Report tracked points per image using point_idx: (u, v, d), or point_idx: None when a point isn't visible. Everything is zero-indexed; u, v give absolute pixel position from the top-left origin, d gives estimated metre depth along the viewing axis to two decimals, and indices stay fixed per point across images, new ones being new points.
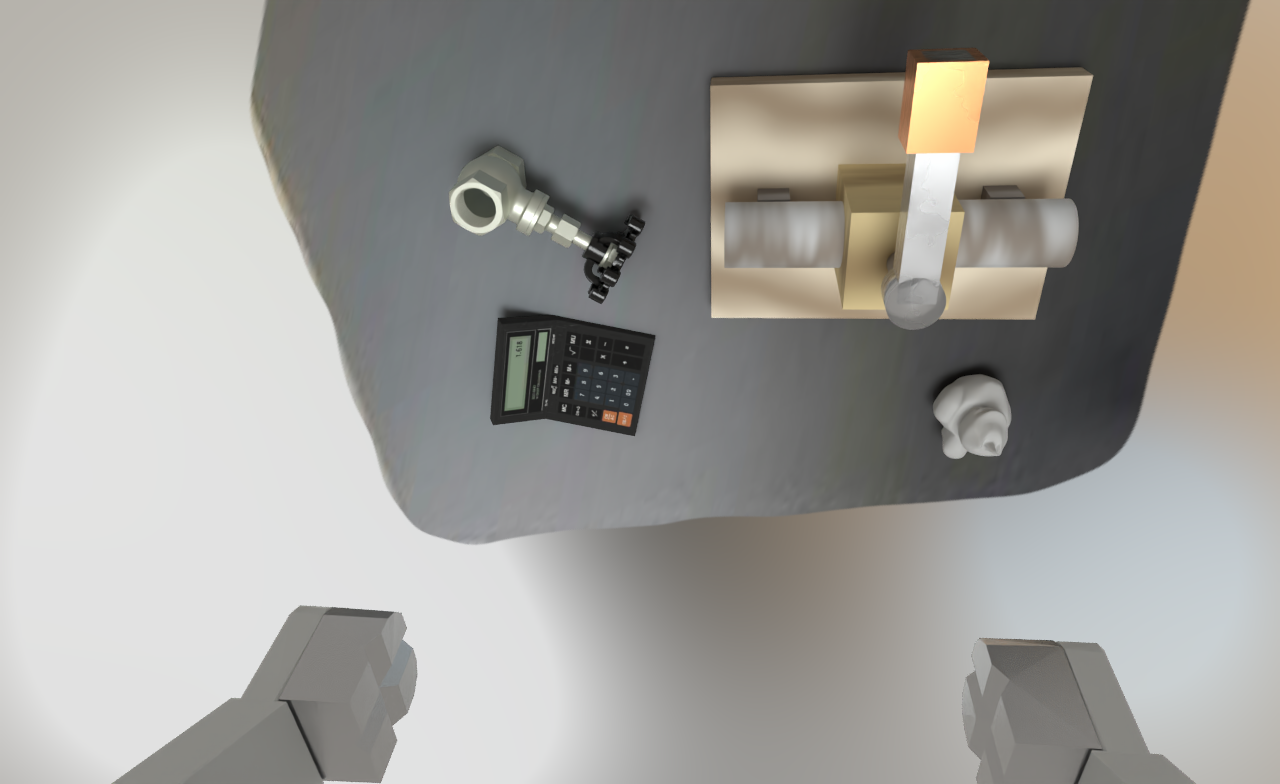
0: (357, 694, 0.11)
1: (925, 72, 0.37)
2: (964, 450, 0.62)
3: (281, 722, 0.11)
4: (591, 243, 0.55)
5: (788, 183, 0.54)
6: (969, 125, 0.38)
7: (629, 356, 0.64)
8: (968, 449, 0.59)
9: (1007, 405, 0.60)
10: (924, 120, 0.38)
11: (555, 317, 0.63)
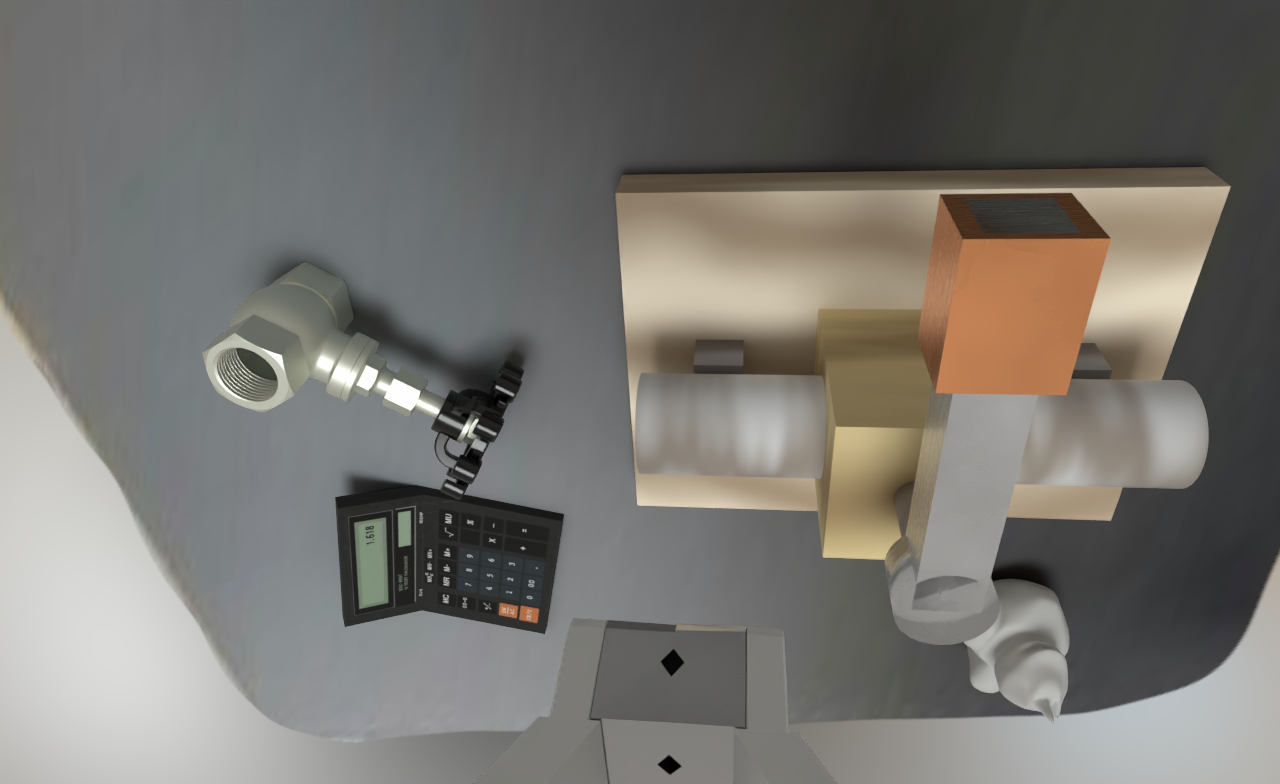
0: (667, 713, 0.10)
1: (977, 256, 0.18)
2: None
3: (594, 742, 0.10)
4: (441, 413, 0.37)
5: (742, 333, 0.35)
6: (1061, 350, 0.19)
7: (528, 541, 0.45)
8: None
9: (1065, 630, 0.41)
10: (972, 339, 0.19)
11: (421, 490, 0.45)
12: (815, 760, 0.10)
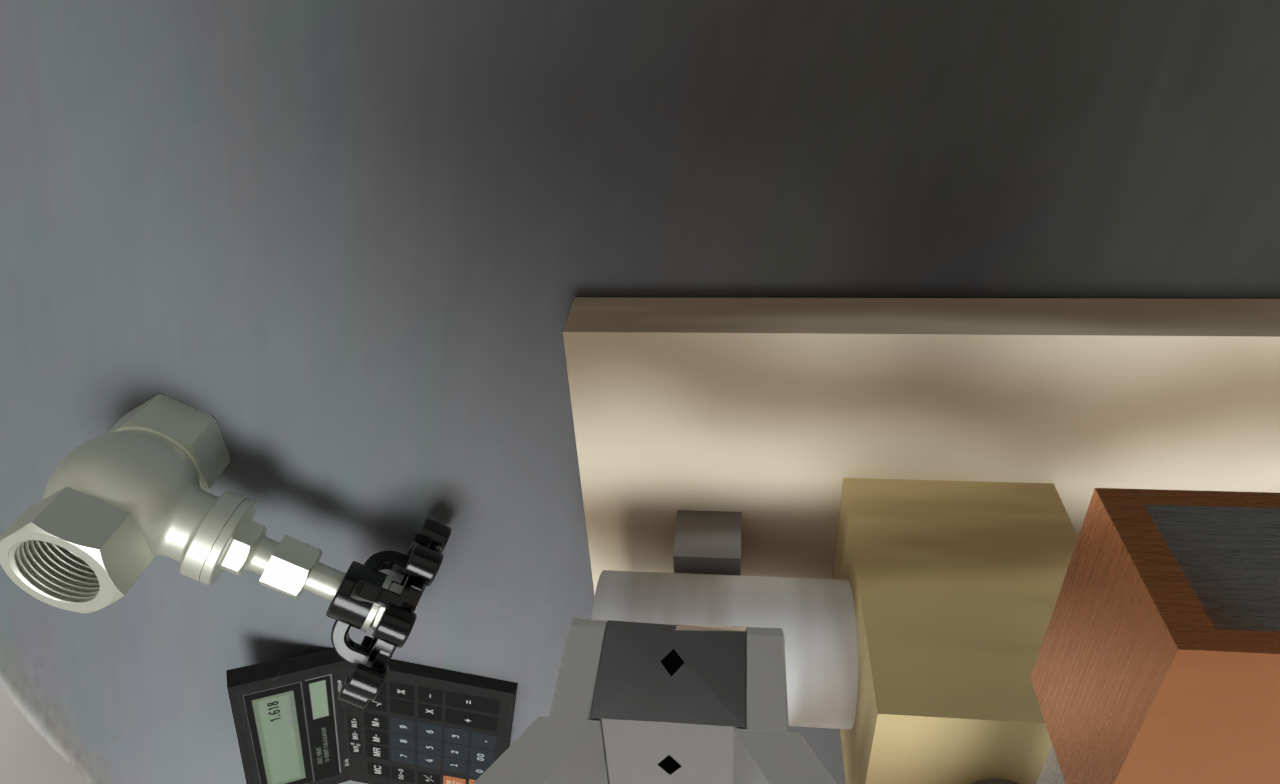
0: (667, 713, 0.10)
1: (1202, 674, 0.09)
2: None
3: (594, 742, 0.10)
4: (336, 598, 0.28)
5: (740, 504, 0.26)
6: None
7: (474, 713, 0.37)
8: None
9: None
10: (1168, 783, 0.10)
11: None
12: (815, 760, 0.10)
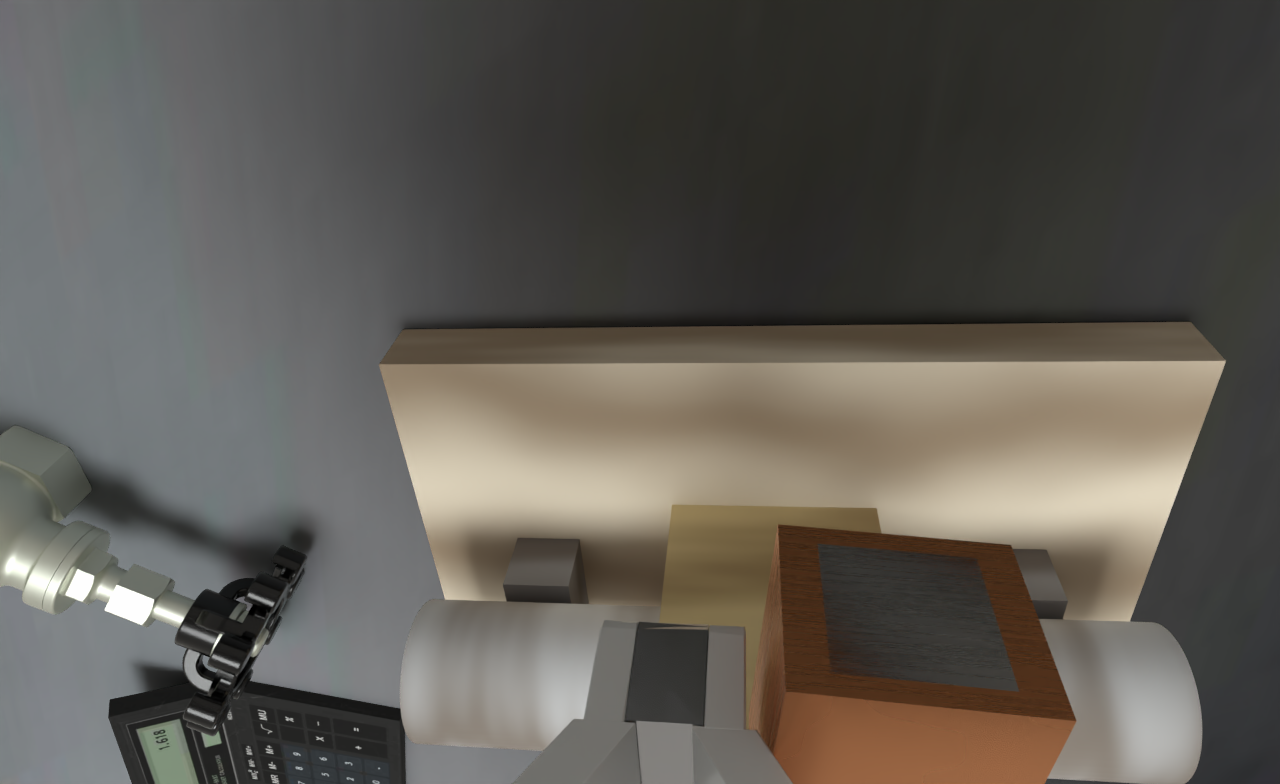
0: None
1: (816, 717, 0.09)
2: None
3: (629, 744, 0.10)
4: (182, 627, 0.28)
5: (577, 531, 0.26)
6: None
7: (363, 740, 0.37)
8: None
9: None
10: None
11: None
12: (771, 757, 0.10)
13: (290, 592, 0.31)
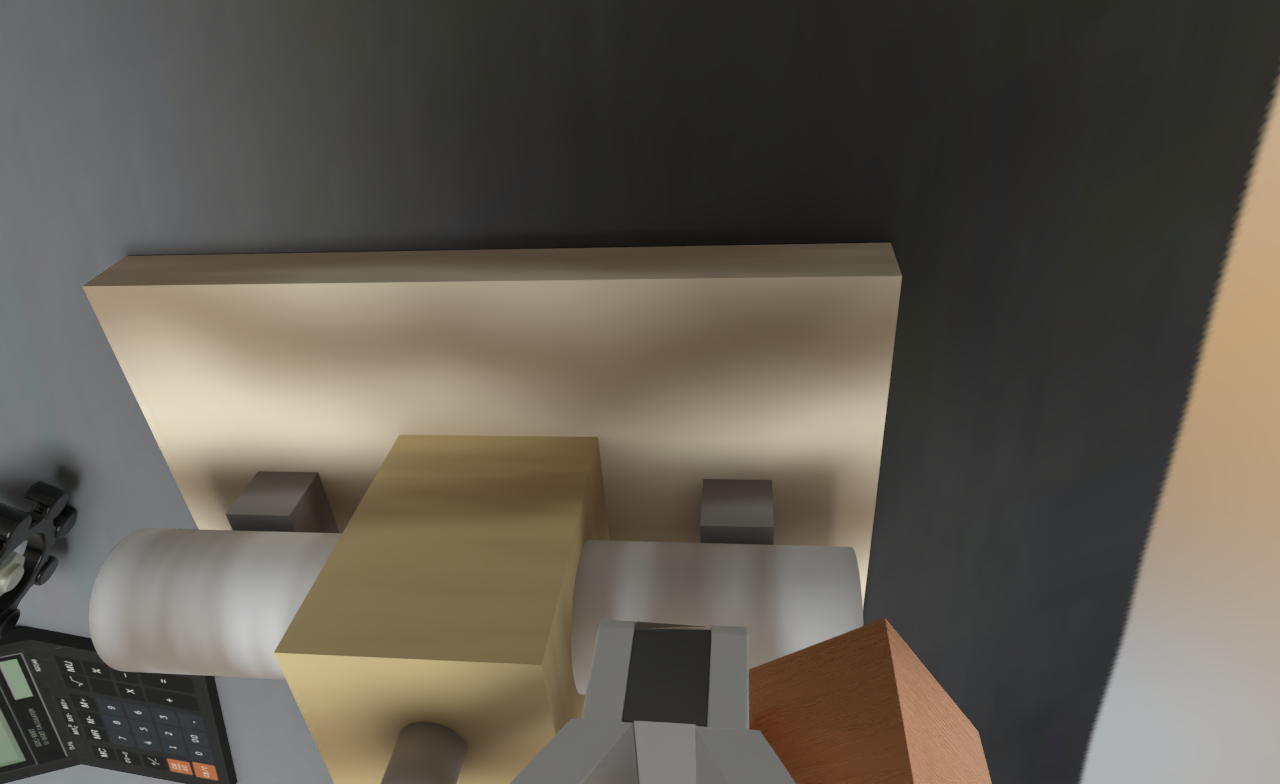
0: None
1: None
2: None
3: (626, 744, 0.10)
4: None
5: (314, 464, 0.26)
6: None
7: (173, 692, 0.36)
8: None
9: None
10: None
11: (30, 632, 0.35)
12: (774, 757, 0.10)
13: (57, 531, 0.31)
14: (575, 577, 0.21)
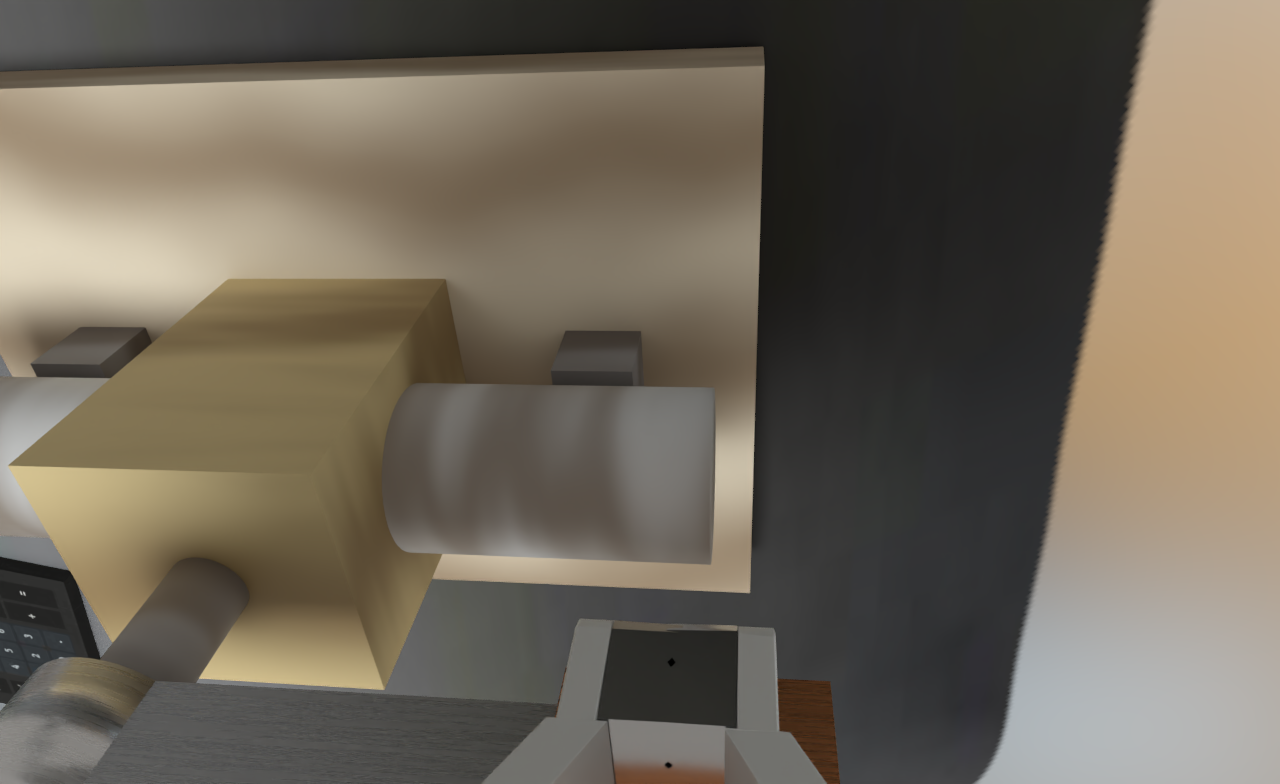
0: (674, 713, 0.10)
1: None
2: None
3: (601, 743, 0.10)
4: None
5: (139, 317, 0.23)
6: None
7: (34, 607, 0.34)
8: None
9: None
10: None
11: None
12: (805, 759, 0.10)
13: None
14: (392, 410, 0.18)
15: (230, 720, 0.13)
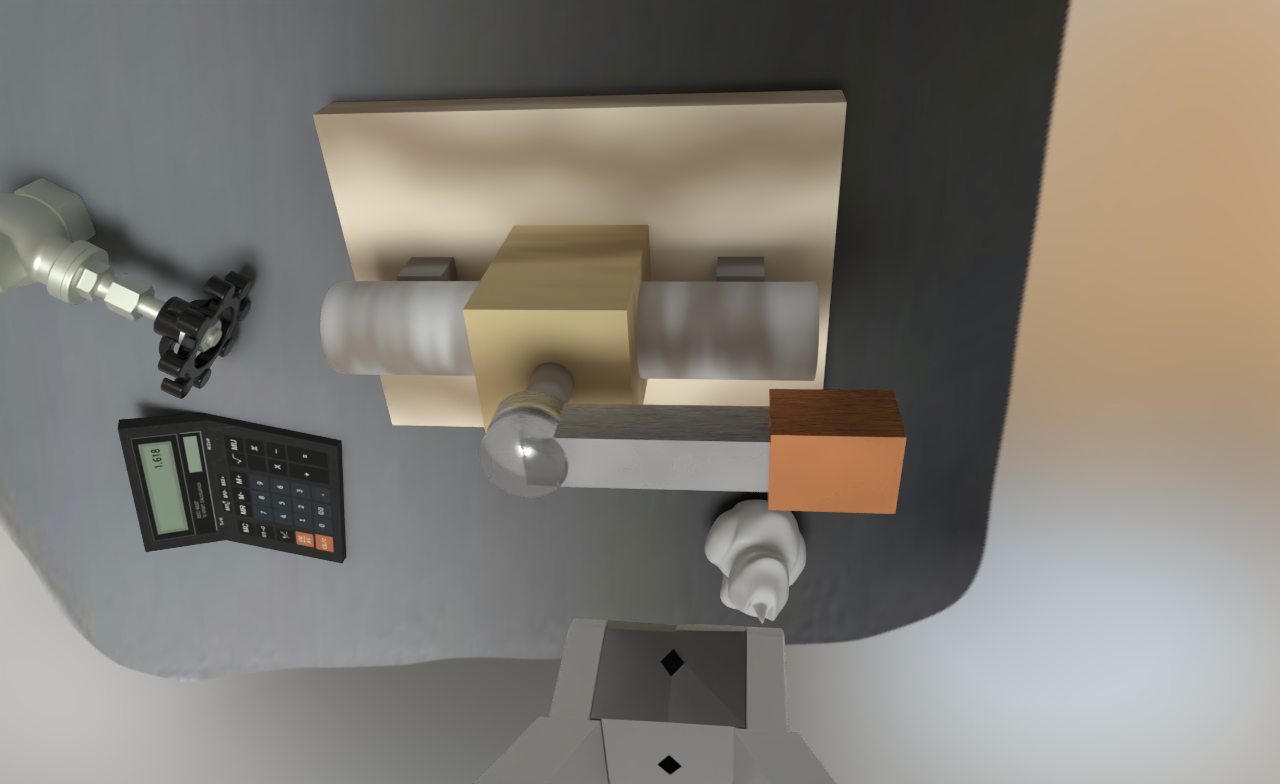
0: (667, 712, 0.10)
1: (891, 447, 0.25)
2: None
3: (594, 742, 0.10)
4: (159, 315, 0.39)
5: (451, 250, 0.38)
6: (807, 502, 0.27)
7: (310, 467, 0.48)
8: (737, 608, 0.43)
9: (795, 544, 0.44)
10: (820, 452, 0.26)
11: (206, 416, 0.47)
12: (815, 760, 0.10)
13: (239, 313, 0.42)
14: (638, 292, 0.33)
15: (610, 414, 0.28)
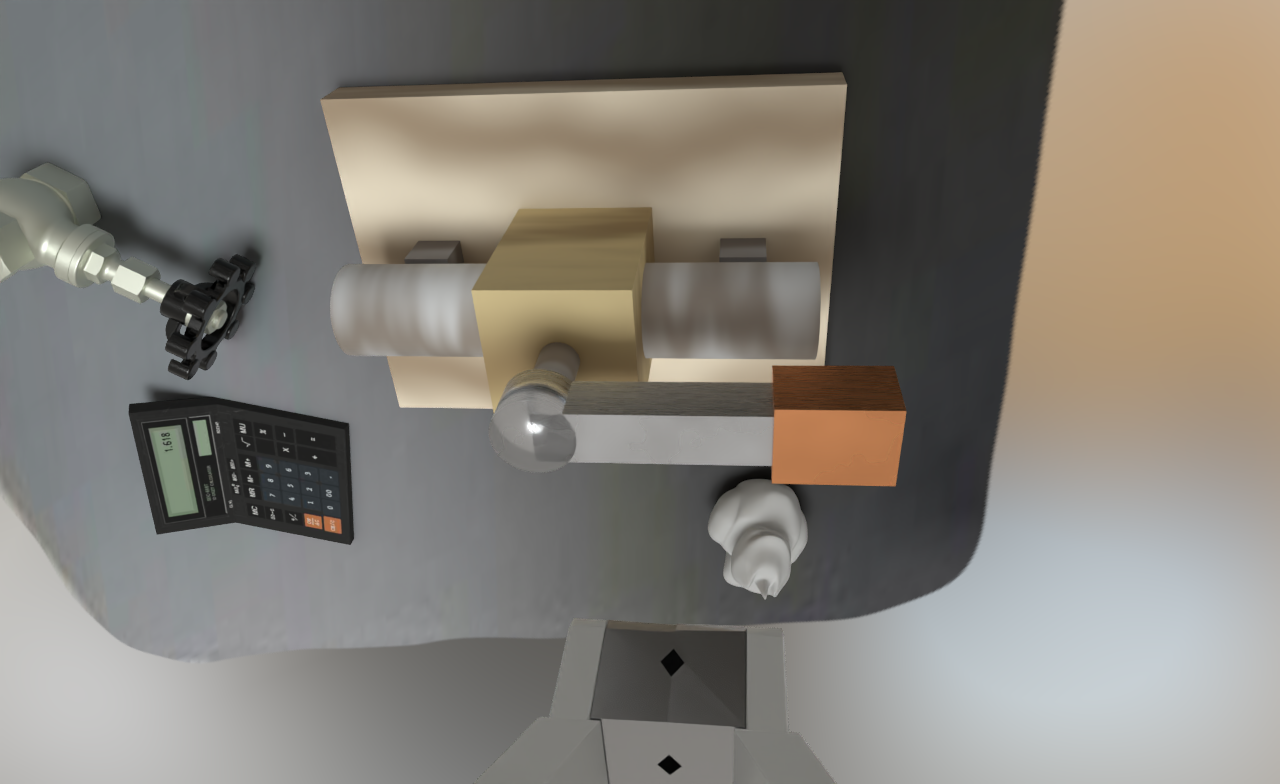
0: (667, 712, 0.10)
1: (891, 421, 0.26)
2: None
3: (594, 742, 0.10)
4: (165, 297, 0.40)
5: (458, 234, 0.39)
6: (810, 475, 0.27)
7: (318, 450, 0.49)
8: (740, 585, 0.44)
9: (797, 522, 0.45)
10: (822, 426, 0.26)
11: (215, 400, 0.48)
12: (814, 760, 0.10)
13: (244, 296, 0.43)
14: (643, 273, 0.34)
15: (617, 391, 0.28)
